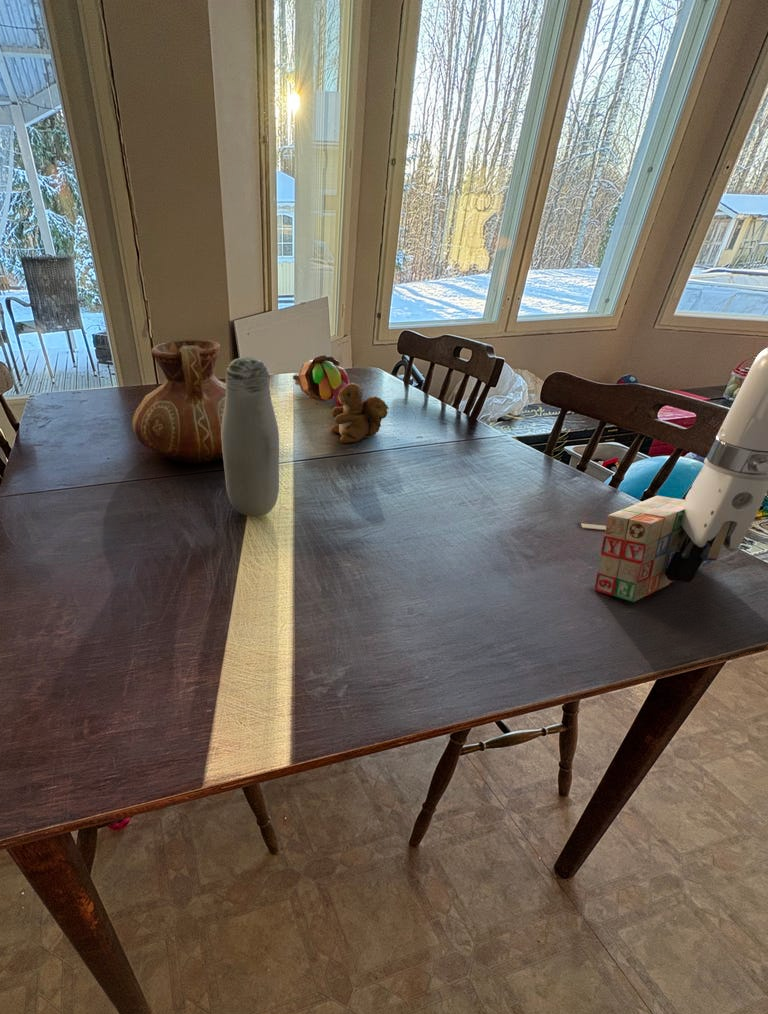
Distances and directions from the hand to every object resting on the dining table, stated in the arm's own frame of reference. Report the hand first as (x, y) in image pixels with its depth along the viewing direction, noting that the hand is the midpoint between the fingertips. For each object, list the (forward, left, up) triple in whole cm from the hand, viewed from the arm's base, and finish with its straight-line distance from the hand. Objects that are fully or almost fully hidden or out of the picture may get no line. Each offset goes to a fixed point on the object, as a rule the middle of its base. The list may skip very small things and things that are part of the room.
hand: (677, 578), depth 79 cm
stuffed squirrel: (+58, -64, -4) cm, 86 cm away
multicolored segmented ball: (+75, -99, -4) cm, 124 cm away
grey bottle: (+71, -14, -4) cm, 72 cm away
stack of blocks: (+1, -5, -3) cm, 6 cm away
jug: (+96, -46, -4) cm, 106 cm away
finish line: (0, -23, -4) cm, 23 cm away
